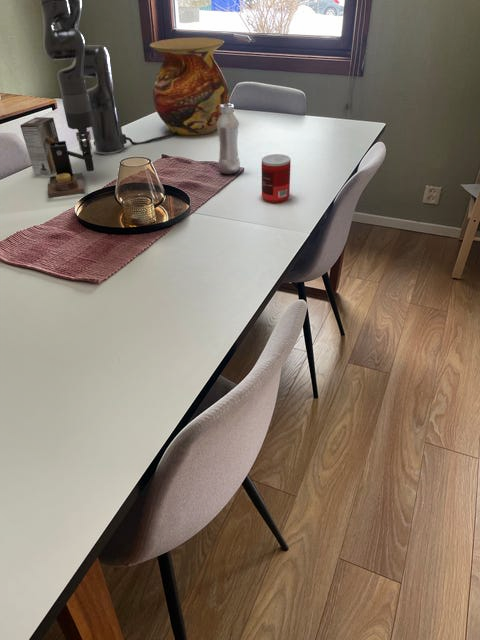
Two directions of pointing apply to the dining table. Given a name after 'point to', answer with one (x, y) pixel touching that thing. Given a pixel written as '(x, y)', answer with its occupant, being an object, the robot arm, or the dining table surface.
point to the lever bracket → (62, 160)
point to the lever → (73, 154)
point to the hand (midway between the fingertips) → (90, 167)
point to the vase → (189, 85)
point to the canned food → (275, 178)
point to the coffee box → (40, 143)
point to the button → (63, 178)
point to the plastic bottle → (228, 140)
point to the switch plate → (65, 188)
